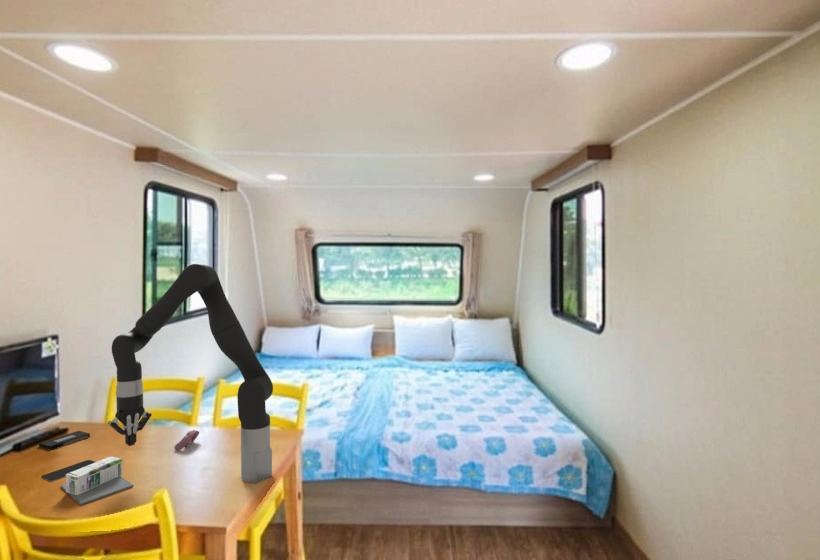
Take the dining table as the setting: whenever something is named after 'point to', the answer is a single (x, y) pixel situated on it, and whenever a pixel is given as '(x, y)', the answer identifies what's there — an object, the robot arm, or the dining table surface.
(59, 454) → the dining table surface
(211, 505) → the dining table surface
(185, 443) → the purple-brown oblong lump
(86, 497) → the mat
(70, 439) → the vhs tape
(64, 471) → the smartphone
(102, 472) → the syrup box
